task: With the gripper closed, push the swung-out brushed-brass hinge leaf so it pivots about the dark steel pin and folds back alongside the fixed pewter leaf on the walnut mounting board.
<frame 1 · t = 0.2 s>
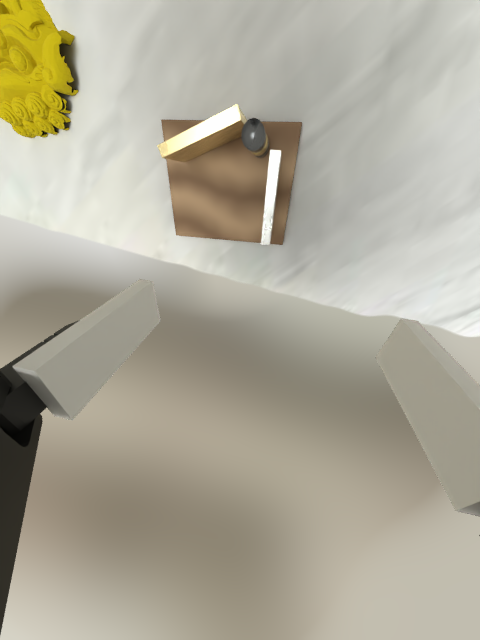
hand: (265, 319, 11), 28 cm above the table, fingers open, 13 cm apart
door knocker: (18, 60, 28), on the table
walnut board: (229, 188, 32), on the table
fixed leaf: (261, 147, 28), resting on walnut board
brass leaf: (218, 149, 25), point 5 cm above the table, hinge at -70.0°
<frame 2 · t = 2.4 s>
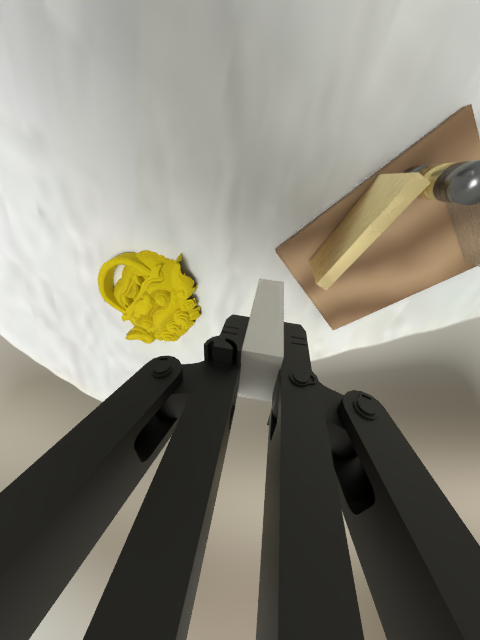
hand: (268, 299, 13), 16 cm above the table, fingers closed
door knocker: (154, 296, 35), on the table
walnut board: (377, 249, 24), on the table
fixed leaf: (405, 181, 20), resting on walnut board
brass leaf: (374, 231, 19), point 5 cm above the table, hinge at -70.0°
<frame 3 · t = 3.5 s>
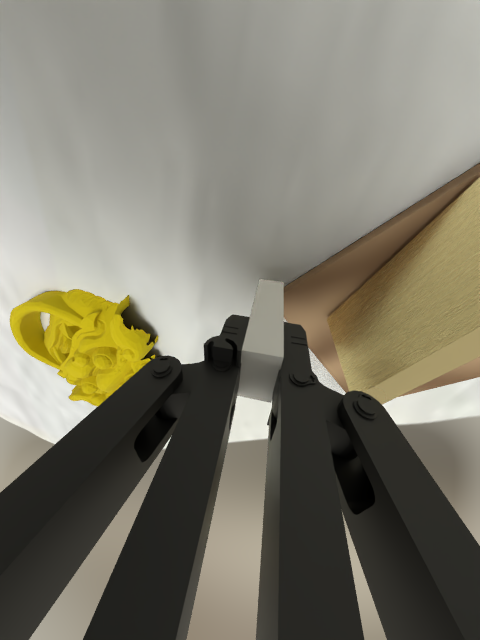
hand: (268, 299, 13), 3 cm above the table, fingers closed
door knocker: (103, 346, 25), on the table
walnut board: (444, 302, 14), on the table
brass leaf: (473, 293, 9), point 5 cm above the table, hinge at -70.0°
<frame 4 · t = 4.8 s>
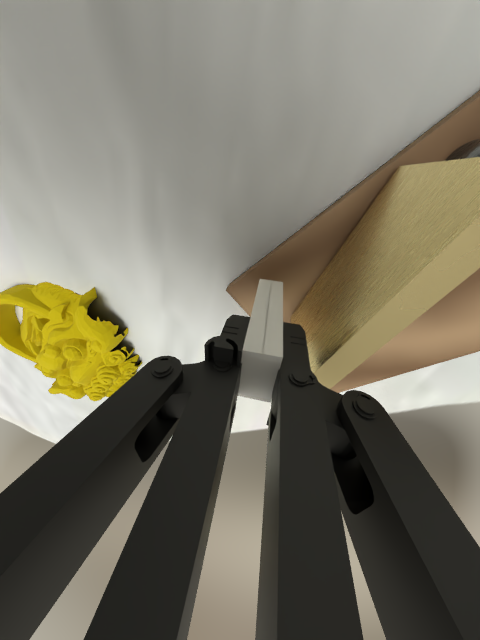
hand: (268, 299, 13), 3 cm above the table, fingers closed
door knocker: (78, 339, 25), on the table
walnut board: (393, 289, 14), on the table
fixed leaf: (451, 172, 10), resting on walnut board
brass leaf: (400, 280, 9), point 5 cm above the table, hinge at -63.9°
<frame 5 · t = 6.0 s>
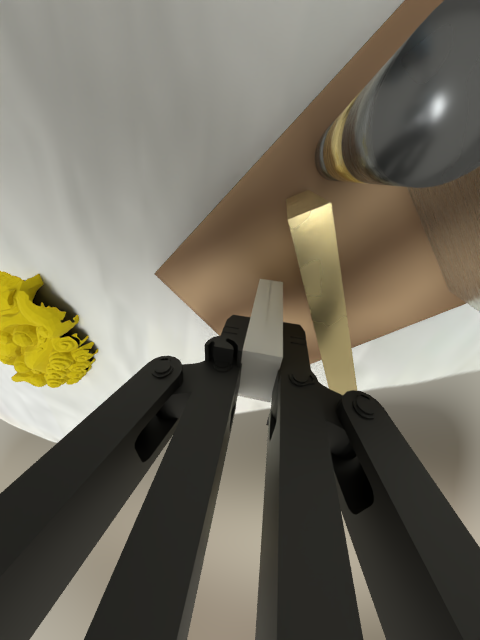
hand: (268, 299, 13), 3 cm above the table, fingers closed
door knocker: (37, 327, 26), on the table
walnut board: (309, 271, 15), on the table
fixed leaf: (335, 153, 11), resting on walnut board
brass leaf: (349, 273, 10), point 5 cm above the table, hinge at -19.4°, touching gripper
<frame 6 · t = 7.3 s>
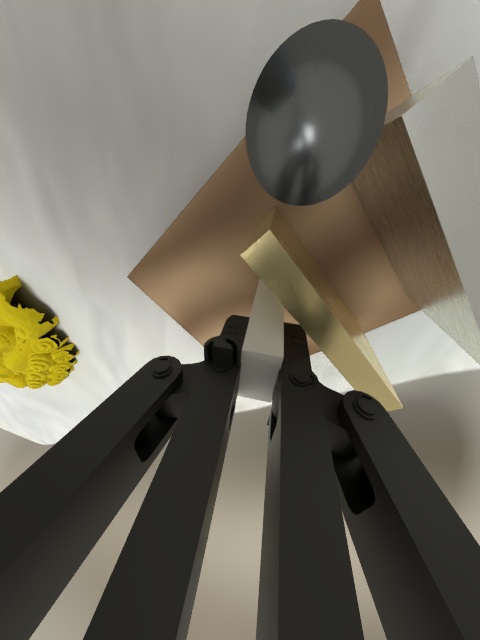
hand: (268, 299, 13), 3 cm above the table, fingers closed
door knocker: (18, 328, 26), on the table
walnut board: (277, 276, 15), on the table
fixed leaf: (292, 164, 11), resting on walnut board
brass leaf: (339, 269, 10), point 5 cm above the table, hinge at 1.5°, touching gripper
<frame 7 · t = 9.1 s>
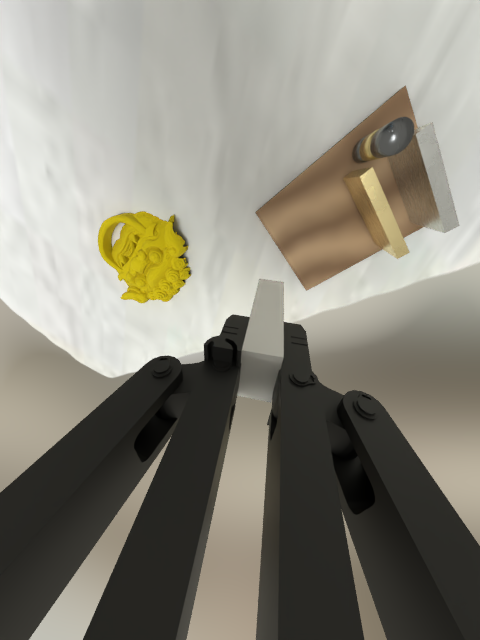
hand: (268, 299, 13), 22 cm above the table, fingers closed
door knocker: (149, 258, 38), on the table
walnut board: (341, 213, 28), on the table
fixed leaf: (360, 151, 25), resting on walnut board
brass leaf: (384, 195, 23), point 5 cm above the table, hinge at 1.6°
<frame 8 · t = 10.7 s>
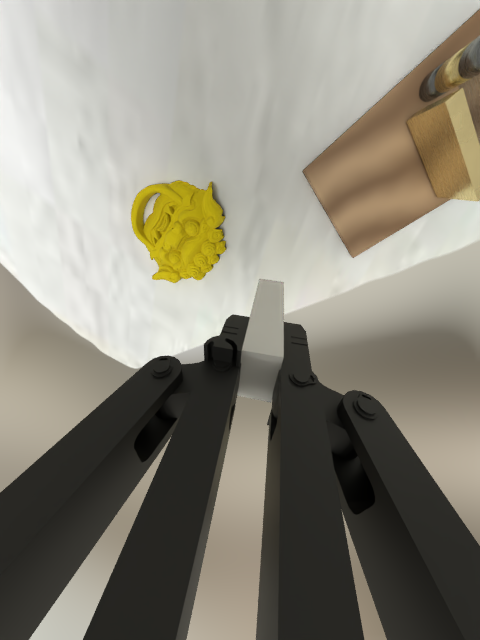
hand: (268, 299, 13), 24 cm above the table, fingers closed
door knocker: (181, 234, 37), on the table
walnut board: (398, 165, 26), on the table
fixed leaf: (427, 89, 22), resting on walnut board
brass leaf: (461, 131, 20), point 5 cm above the table, hinge at 1.6°
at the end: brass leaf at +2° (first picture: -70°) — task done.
